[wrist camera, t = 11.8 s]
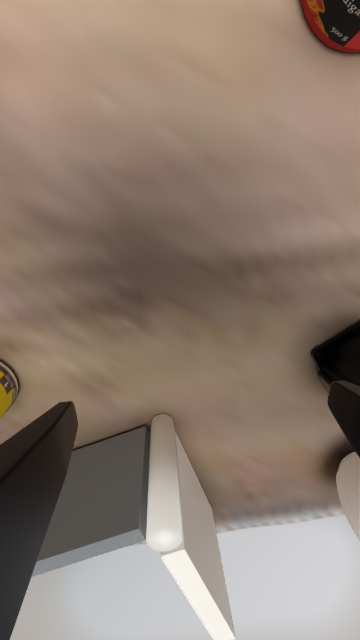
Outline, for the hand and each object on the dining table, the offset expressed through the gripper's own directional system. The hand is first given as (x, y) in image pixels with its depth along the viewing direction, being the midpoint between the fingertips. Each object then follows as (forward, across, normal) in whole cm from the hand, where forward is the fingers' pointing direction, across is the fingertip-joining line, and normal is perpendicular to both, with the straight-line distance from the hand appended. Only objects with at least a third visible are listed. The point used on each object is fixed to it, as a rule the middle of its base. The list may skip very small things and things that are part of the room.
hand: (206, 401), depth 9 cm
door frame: (+13, 0, +18) cm, 22 cm away
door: (+13, +11, +15) cm, 22 cm away
